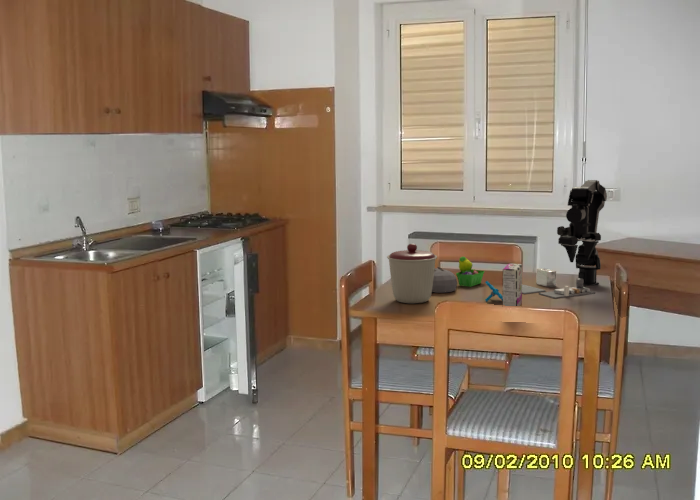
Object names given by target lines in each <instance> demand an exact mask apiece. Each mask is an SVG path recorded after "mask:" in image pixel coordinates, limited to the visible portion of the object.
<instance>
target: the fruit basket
mask: <svg viewBox="0 0 700 500" xmlns="http://www.w3.org/2000/svg"><path fill="white" fill-rule="evenodd" d="M458 269H459V271H458V272H456V273H455V276H456V279H457V283H458V285H459V286H461V287H470V288H471V287H474V286H476V285H480V284H482V280H483V276H484V274H485V270H480V269H479V270H478V269H474V268H473V263H472V261H470V260H469V259H468V258H467V257H465V256H460V257H459V259H458Z"/></svg>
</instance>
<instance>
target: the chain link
mask: <svg viewBox="0 0 700 500" xmlns="http://www.w3.org/2000/svg"><path fill="white" fill-rule="evenodd" d="M535 274H536V277H535V279H536V280H535V281H536V282H535V283H536V285H538V286H543V287H548V288H555V287H556V286H557V270H553V269H548V268H545V267H544V268H542V267H541V268H540V267H539V268H536V273H535Z"/></svg>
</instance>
